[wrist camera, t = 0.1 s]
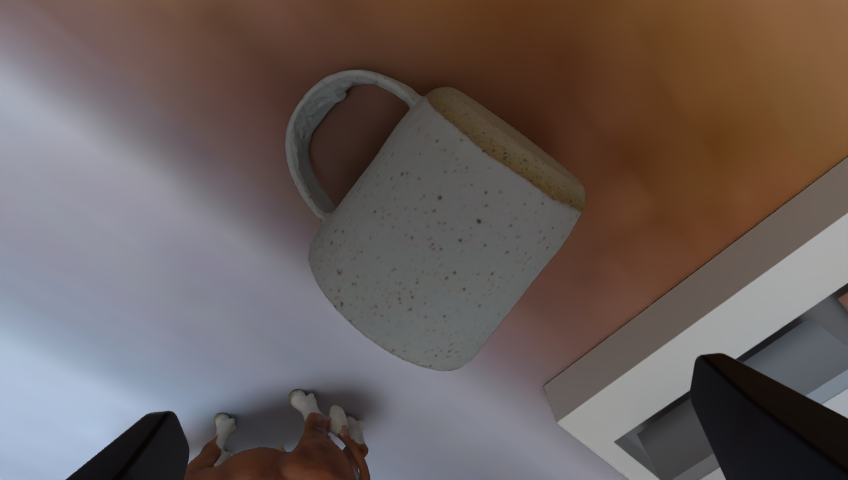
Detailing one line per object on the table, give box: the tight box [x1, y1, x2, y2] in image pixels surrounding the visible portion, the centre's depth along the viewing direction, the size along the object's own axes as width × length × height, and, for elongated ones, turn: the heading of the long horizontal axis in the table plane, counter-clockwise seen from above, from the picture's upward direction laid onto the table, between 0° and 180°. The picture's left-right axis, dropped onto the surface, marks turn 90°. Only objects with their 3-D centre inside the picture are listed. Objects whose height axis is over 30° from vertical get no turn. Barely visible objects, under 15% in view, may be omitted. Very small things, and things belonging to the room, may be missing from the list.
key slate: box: [743, 317, 848, 418], centre depth 24 cm, size 4×4×3 cm
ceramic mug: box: [285, 70, 586, 371], centre depth 19 cm, size 11×8×8 cm
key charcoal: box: [637, 399, 726, 480], centre depth 26 cm, size 4×4×3 cm
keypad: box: [544, 157, 848, 480], centre depth 25 cm, size 25×12×3 cm, turn 136°
